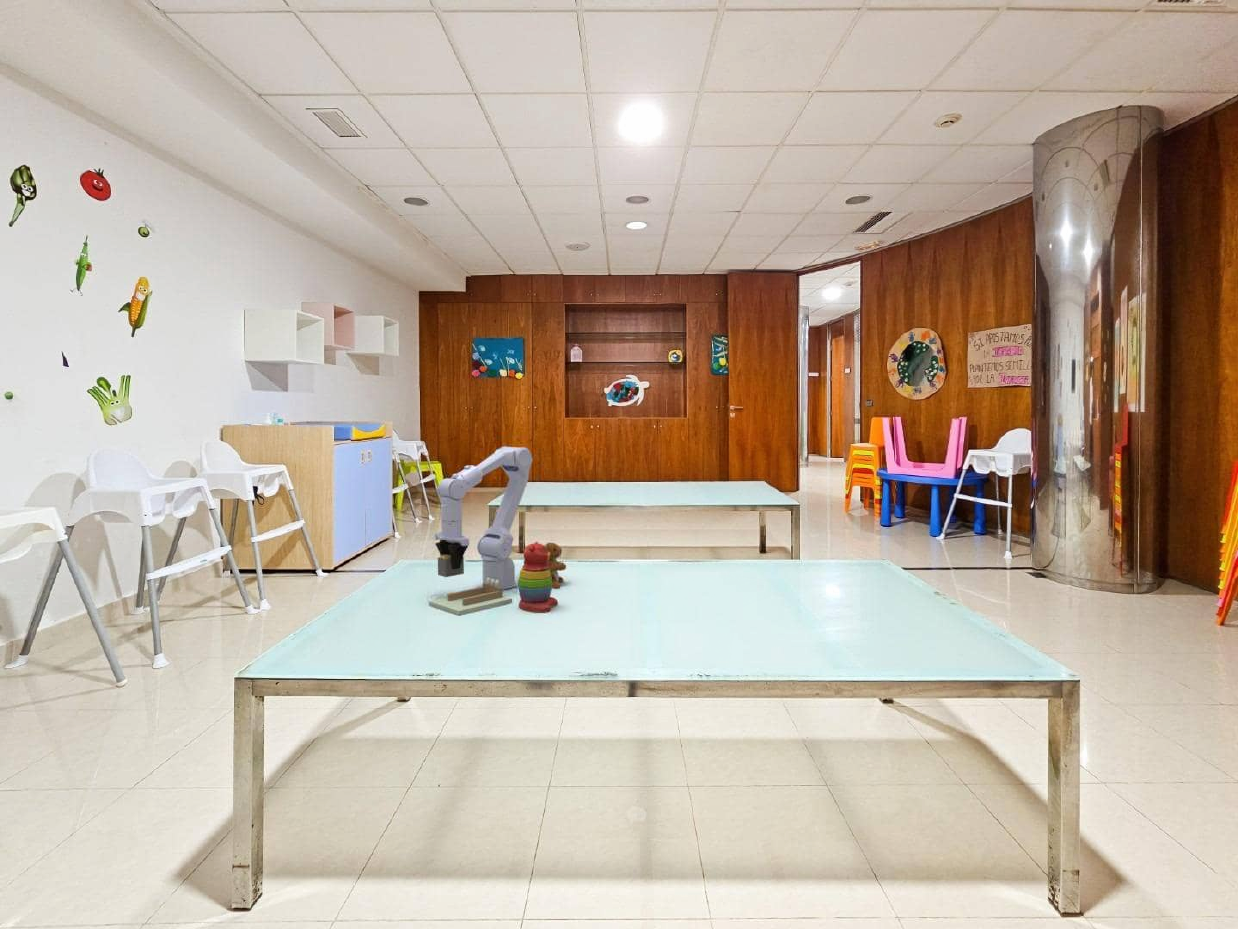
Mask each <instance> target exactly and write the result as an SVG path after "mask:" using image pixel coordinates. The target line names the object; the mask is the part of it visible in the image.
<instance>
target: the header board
mask: <svg viewBox="0 0 1238 929" xmlns="http://www.w3.org/2000/svg"><path fill="white" fill-rule="evenodd" d="M482 585H483V587H479V588H477V587H475V588H471V589H465V590H462V591H457V592H456V591H455V592H451V593H448V594H447V597H441V598H438V599H433V600H429V601H428V606H429V607H432V608H436V609H437V610H438V609H439V610H441V611H444V612H446V613H449V614H453V615H457V616H462V615H466V614H471V613H475V612H481V611H483V610H487V609H492V608H496V607H499V606H504V605H508V604H512V603H513V598H512V597H508V596H504V595H503V594H504V591H503V590H504V589H503V587H499V580H495V585H494V579H491V584H490V578H487V583H483V582H482Z"/></svg>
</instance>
